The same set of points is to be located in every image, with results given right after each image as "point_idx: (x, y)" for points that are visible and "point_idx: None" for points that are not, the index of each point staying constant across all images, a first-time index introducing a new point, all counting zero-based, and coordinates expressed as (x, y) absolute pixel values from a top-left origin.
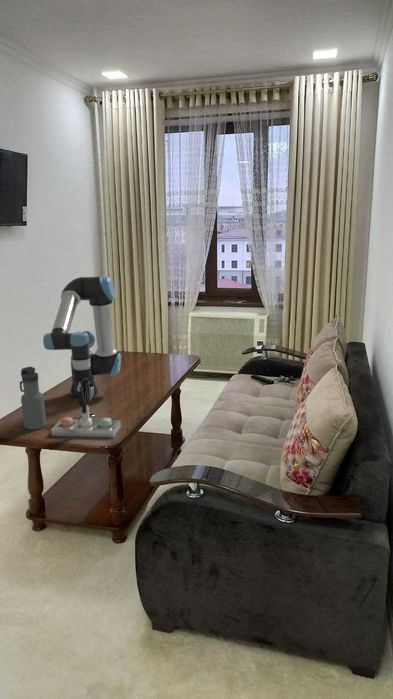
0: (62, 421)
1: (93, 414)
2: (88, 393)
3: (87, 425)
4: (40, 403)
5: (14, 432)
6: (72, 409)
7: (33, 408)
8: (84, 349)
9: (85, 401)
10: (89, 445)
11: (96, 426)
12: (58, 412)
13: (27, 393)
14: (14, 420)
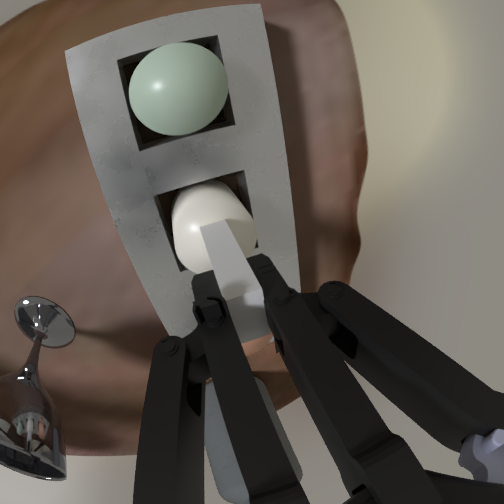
0: (271, 333)
1: (25, 305)
2: (181, 428)
3: (238, 200)
4: None
5: (284, 394)
6: (52, 388)
7: (285, 442)
8: None
9: (317, 324)
10: (359, 102)
11: (218, 142)
12: (99, 405)
13: None
14: None
